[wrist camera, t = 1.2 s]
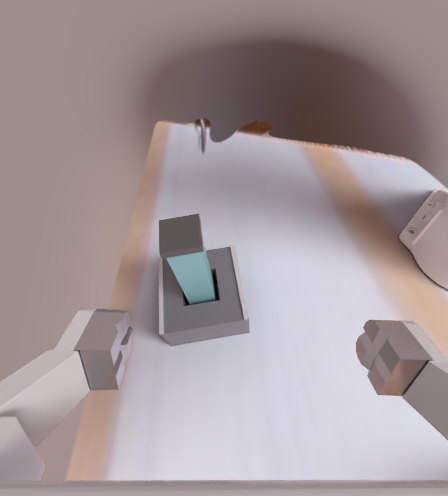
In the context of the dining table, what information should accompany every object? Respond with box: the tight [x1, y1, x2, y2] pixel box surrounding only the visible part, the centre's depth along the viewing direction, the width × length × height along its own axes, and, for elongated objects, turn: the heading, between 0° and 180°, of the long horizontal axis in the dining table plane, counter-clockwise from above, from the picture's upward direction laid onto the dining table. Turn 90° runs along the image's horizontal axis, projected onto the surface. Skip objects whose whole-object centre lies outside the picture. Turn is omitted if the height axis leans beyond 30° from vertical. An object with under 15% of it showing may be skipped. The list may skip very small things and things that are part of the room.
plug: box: [159, 214, 217, 305], centre depth 36 cm, size 4×4×18 cm
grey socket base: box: [159, 245, 249, 346], centre depth 41 cm, size 12×12×6 cm
